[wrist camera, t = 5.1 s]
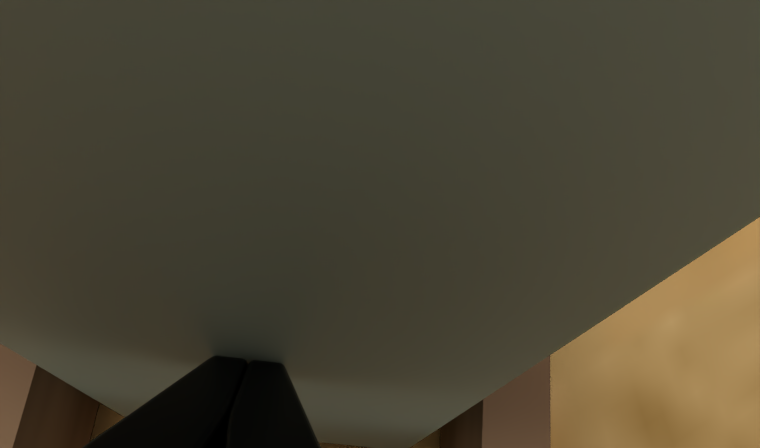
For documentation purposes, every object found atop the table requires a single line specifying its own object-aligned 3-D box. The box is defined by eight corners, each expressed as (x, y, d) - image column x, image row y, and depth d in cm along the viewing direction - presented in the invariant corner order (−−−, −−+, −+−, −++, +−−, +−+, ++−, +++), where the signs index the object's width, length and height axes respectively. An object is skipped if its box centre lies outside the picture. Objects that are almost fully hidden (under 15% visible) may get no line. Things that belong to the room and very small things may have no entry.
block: (404, 451, 16) (1178, -61, 2) (132, 421, 15) (-1403, -488, 1) (422, 208, 18) (820, -796, 4) (188, 178, 18) (-205, -1031, 4)
